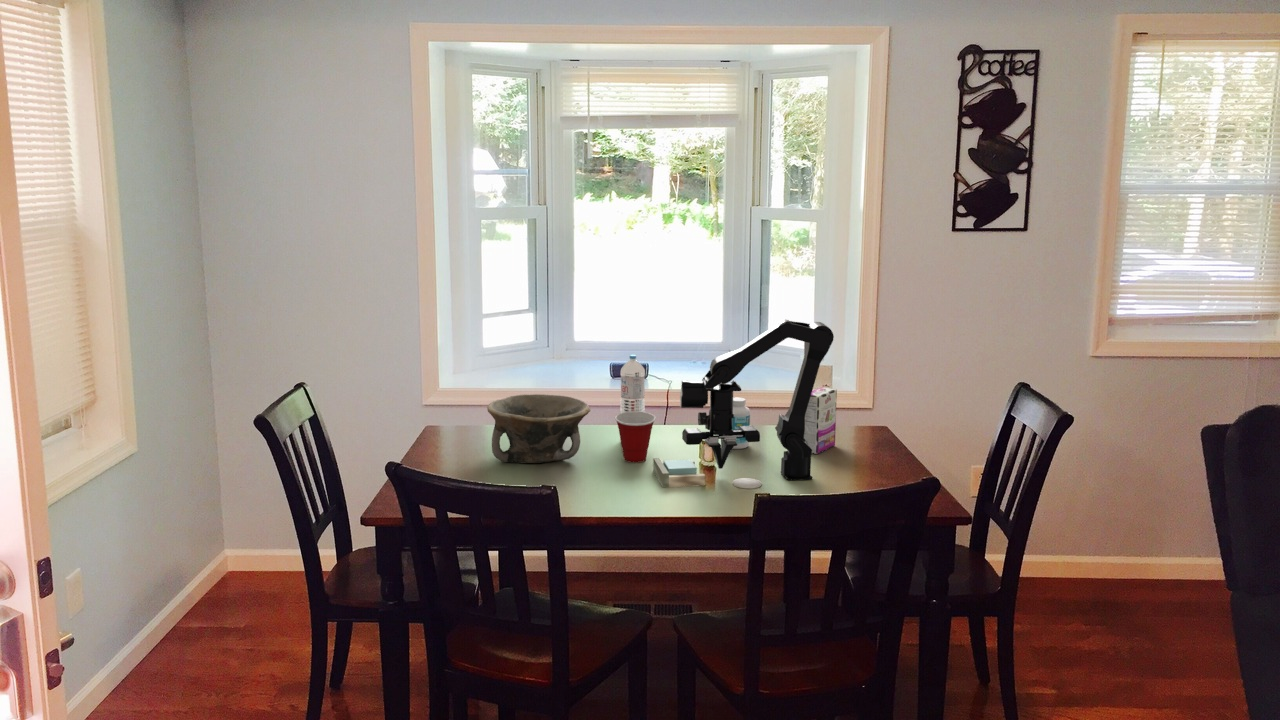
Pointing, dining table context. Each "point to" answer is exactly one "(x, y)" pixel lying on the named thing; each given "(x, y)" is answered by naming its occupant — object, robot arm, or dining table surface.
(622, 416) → the plastic cup
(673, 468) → the block
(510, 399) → the bowl
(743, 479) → the pad
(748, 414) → the pill bottle
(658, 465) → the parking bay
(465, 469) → the dining table surface
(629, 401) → the water bottle
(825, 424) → the candy bar box
